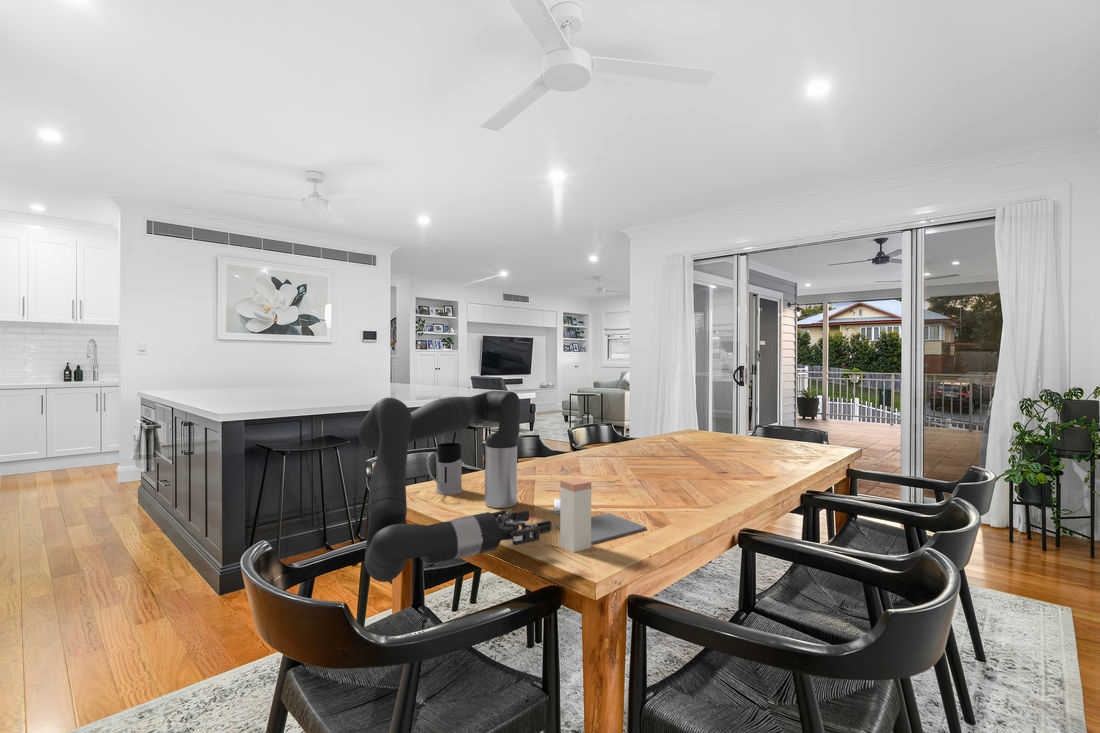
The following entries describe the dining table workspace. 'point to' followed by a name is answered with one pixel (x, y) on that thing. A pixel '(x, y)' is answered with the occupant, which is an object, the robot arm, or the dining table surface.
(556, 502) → the hard drive
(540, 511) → the dining table surface
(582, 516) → the capped block
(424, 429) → the robot arm
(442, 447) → the grey coffee pot
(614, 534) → the rubber mat
